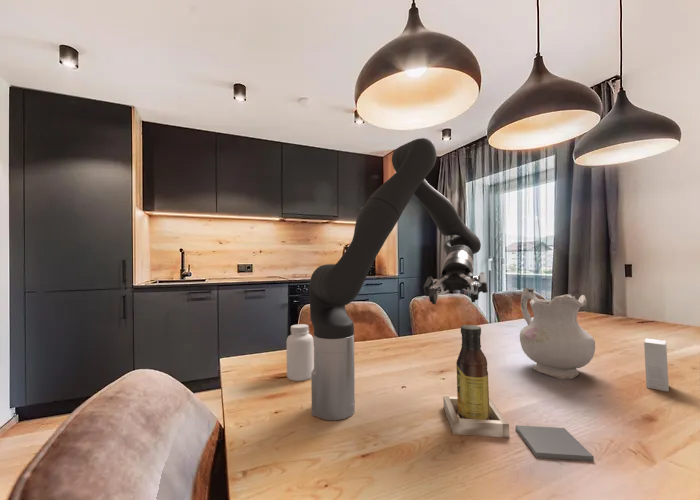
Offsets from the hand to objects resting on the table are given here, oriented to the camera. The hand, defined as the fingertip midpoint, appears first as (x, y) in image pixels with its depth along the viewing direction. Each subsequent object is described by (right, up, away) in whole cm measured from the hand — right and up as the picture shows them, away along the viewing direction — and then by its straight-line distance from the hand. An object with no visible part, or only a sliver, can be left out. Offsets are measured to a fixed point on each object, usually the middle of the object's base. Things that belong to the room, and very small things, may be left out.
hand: (452, 299), depth 69 cm
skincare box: (+59, -25, +14) cm, 66 cm away
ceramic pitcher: (+40, -26, +27) cm, 55 cm away
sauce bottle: (+3, -25, -3) cm, 26 cm away
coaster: (+14, -25, -12) cm, 31 cm away
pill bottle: (-37, -27, +23) cm, 52 cm away
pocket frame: (+3, -25, -3) cm, 25 cm away
